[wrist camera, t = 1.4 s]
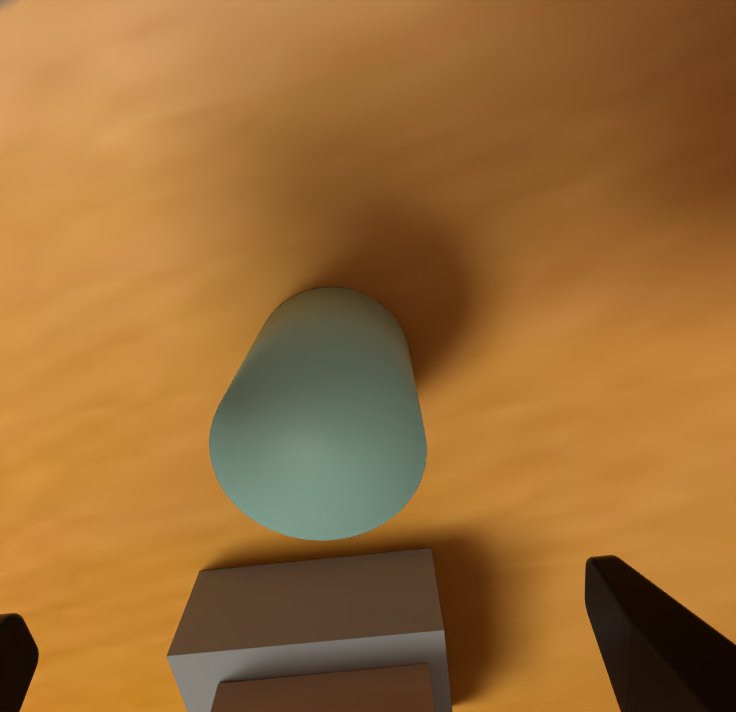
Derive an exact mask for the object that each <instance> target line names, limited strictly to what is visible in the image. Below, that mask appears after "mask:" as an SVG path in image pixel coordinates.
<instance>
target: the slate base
mask: <svg viewBox="0 0 736 712" xmlns="http://www.w3.org/2000/svg"><path fill="white" fill-rule="evenodd" d="M167 658H168V661H169V664H170V666H171V669H172V672H173V674H174V677H175V679H176V682H177V685H178V687H179V690H180V693H181V695H182V698H183V701H184V703H185V706H186V708H187V711H188V712H211V708H212V704H213V701H214V697H215V693H216V689H217V686H218V684H219V683H229V682H240V681H250V680H260V679H271V678H281V677H291V676H302V675H312V674H322V673H333V672H343V671H354V670H364V669H374V668H385V667H395V666H405V665H416V664H426V663H429V671H430V680H431V688H432V696H433V704H434V712H452V703H451V693H450V683H449V673H448V664H447V654H446V644H445V634H444V626H443V620H442V614H441V607H440V601H439V594H438V588H437V581H436V575H435V568H434V562H433V555H432V549H431V548H425V549H415V550H405V551H395V552H385V553H375V554H365V555H355V556H345V557H335V558H326V559H316V560H306V561H296V562H286V563H276V564H266V565H256V566H246V567H236V568H226V569H216V570H206V571H200V572H199V574H198V577H197V579H196V582H195V584H194V587H193V590H192V592H191V595H190V597H189V600H188V602H187V605H186V608H185V610H184V613H183V615H182V618H181V621H180V623H179V626H178V628H177V631H176V633H175V636H174V639H173V641H172V644H171V646H170V649H169V652H168V654H167Z"/></svg>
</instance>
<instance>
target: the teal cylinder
mask: <svg viewBox="0 0 736 712" xmlns="http://www.w3.org/2000/svg"><path fill="white" fill-rule="evenodd" d="M209 448H210V457H211V462H212V467H213V469H214V472H215V475H216V478H217V480H218V481H219V483H220V485H221V487H222V489H223V490H224V492H225V493H226V494H227V496H228V497H229V499H230V500H231V501H232V502H233V503H234V504H235V505H236V506H237V507H238V508H239V509H240V510H241V511H242V512H243V513H245V514H246V515H247V516H248V517H250V518H251V519H253V520H254V521H256V522H257V523H259V524H261V525H262V526H264V527H266V528H268V529H270V530H273V531H275V532H278V533H281V534H283V535H287V536H291V537H295V538H300V539H306V540H321V541H322V540H337V539H343V538H349V537H353V536H356V535H360V534H363V533H365V532H368V531H370V530H373V529H374V528H376V527H378V526H380V525H382V524H384V523H385V522H387V521H388V520H389V519H391V518H392V517H394V516H395V515H396V514H397V513H398V512H399V511H400V510H401V509H403V507H404V506H405V505H406V504H407V503H408V501H409V500H410V499H411V498H412V496H413V494H414V493H415V491H416V490H417V488H418V486H419V483H420V481H421V479H422V476H423V472H424V469H425V464H426V456H427V444H426V437H425V431H424V426H423V421H422V416H421V410H420V405H419V400H418V395H417V389H416V384H415V379H414V374H413V368H412V363H411V358H410V353H409V348H408V343H407V340H406V337H405V334H404V332H403V330H402V328H401V326H400V324H399V323H398V321H397V320H396V318H395V317H394V316H393V315H392V314H391V313H390V311H389V310H388V309H386V308H385V307H384V306H383V305H382V304H381V303H379V302H378V301H376V300H374V299H373V298H371V297H369V296H367V295H365V294H363V293H360V292H357V291H354V290H351V289H346V288H338V287H323V288H316V289H311V290H308V291H305V292H302V293H299V294H297V295H295V296H293V297H291V298H289V299H288V300H286V301H285V302H283V303H282V304H281V305H280V306H279V307H278V308H276V309H275V310H274V312H273V313H272V314H271V315H270V316H269V318H268V319H267V321H266V322H265V324H264V326H263V327H262V329H261V331H260V333H259V334H258V336H257V338H256V340H255V342H254V343H253V345H252V347H251V349H250V351H249V352H248V354H247V356H246V358H245V360H244V361H243V363H242V365H241V367H240V369H239V370H238V372H237V374H236V376H235V377H234V379H233V381H232V383H231V385H230V386H229V388H228V390H227V392H226V394H225V395H224V397H223V399H222V401H221V403H220V404H219V406H218V409H217V411H216V413H215V415H214V418H213V422H212V425H211V429H210V439H209Z"/></svg>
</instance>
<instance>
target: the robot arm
mask: <svg viewBox="0 0 736 712" xmlns="http://www.w3.org/2000/svg"><path fill="white" fill-rule="evenodd" d="M585 604H586V609H587V613H588V616H589V619H590V622H591V625H592V628H593V631H594V634H595V637H596V640H597V643H598V646H599V649H600V652H601V655H602V658H603V661H604V663H605V666H606V669H607V672H608V675H609V678H610V681H611V684H612V687H613V690H614V693H615V696H616V699H617V702H618V705H619V707H620V710H621V712H736V645H735V644H734V643H733V642H731V641H730V640H729V639H727V638H726V637H725V636H723V635H722V634H721V633H719V632H718V631H717V630H715V629H714V628H713V627H711V626H710V625H709V624H707V623H706V622H704V621H703V620H702V619H700V618H699V617H698V616H696V615H695V614H694V613H692V612H691V611H690V610H688V609H687V608H686V607H684V606H683V605H682V604H680V603H679V602H678V601H676V600H675V599H674V598H672V597H671V596H670V595H668V594H667V593H666V592H664V591H663V590H662V589H660V588H659V587H657V586H656V585H655V584H653V583H652V582H651V581H649V580H648V579H647V578H645V577H644V576H643V575H641V574H640V573H639V572H637V571H636V570H635V569H633V568H632V567H631V566H629V565H628V564H627V563H625V562H624V561H623V560H621V559H620V558H618V557H616V556H613V555H607V556H597V557H590V558H589V559H588V560H587V562H586V572H585ZM38 657H39V652H38V647H37V645H36V643H35V641H34V639H33V637H32V635H31V633H30V631H29V629H28V627H27V625H26V623H25V621H24V619H23V618H22V616H20V615H19V614H16V613H10V614H0V712H19V711H20V709H21V706H22V703H23V701H24V698H25V696H26V693H27V690H28V688H29V685H30V682H31V680H32V677H33V675H34V672H35V669H36V667H37V663H38Z"/></svg>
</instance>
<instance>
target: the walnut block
mask: <svg viewBox="0 0 736 712" xmlns="http://www.w3.org/2000/svg"><path fill="white" fill-rule="evenodd" d="M211 712H434V704H433V696H432V688H431V680H430V671H429V663H426V664H416V665H405V666H395V667H385V668H374V669H364V670H354V671H343V672H333V673H322V674H312V675H302V676H291V677H281V678H271V679H260V680H250V681H240V682H229V683H219V684H218V686H217V689H216V693H215V697H214V701H213V704H212V708H211Z"/></svg>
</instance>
